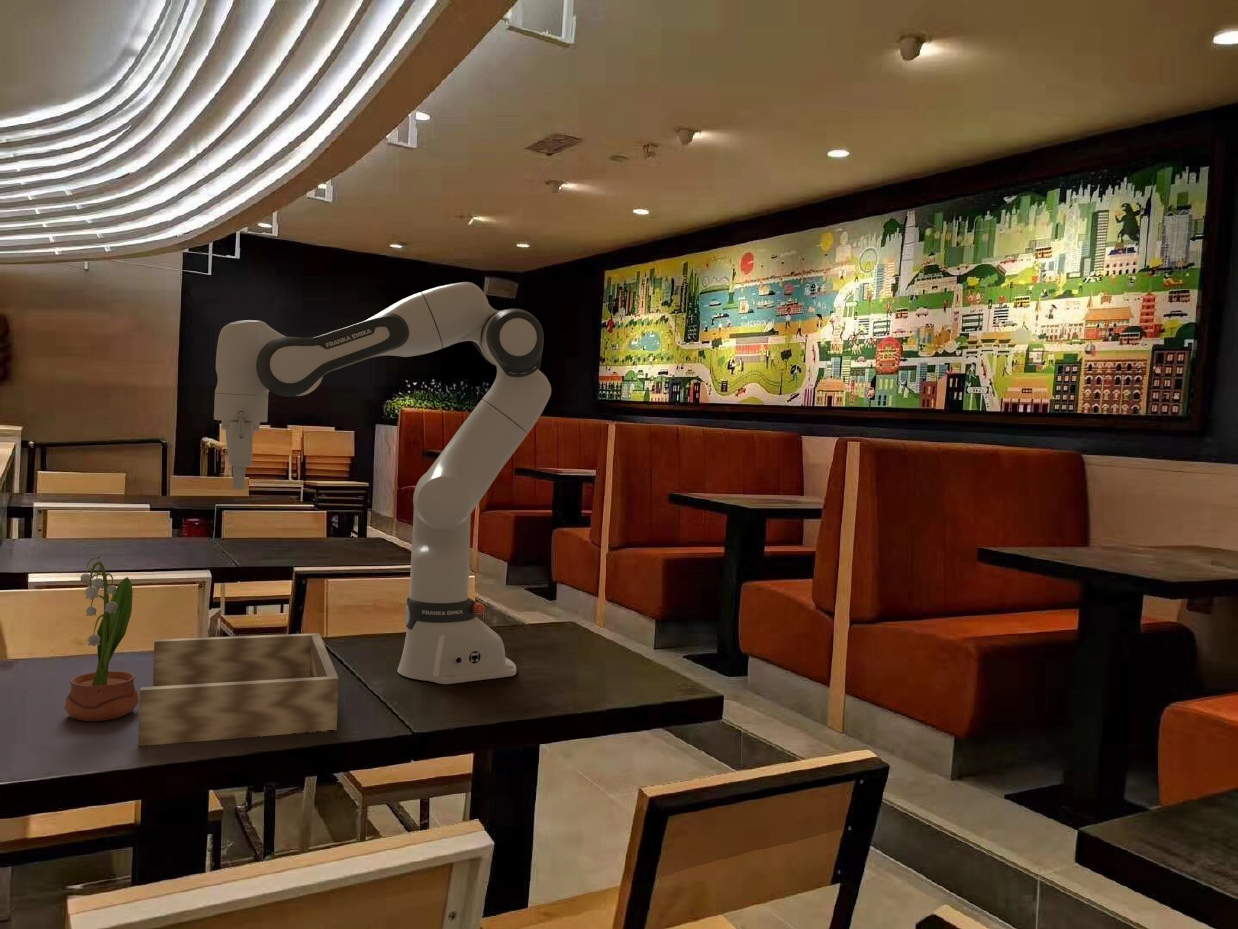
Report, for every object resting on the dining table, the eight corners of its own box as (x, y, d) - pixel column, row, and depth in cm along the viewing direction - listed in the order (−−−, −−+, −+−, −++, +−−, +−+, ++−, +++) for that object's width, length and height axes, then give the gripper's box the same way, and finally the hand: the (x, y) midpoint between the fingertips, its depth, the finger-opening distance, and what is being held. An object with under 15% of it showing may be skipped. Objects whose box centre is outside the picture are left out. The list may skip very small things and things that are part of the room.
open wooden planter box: (317, 676, 169) (319, 633, 168) (336, 730, 140) (338, 678, 140) (153, 685, 158) (154, 639, 158) (138, 746, 130) (139, 690, 129)
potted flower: (114, 730, 135) (120, 561, 135) (43, 728, 135) (49, 559, 134) (149, 706, 147) (154, 551, 146) (84, 704, 146) (89, 548, 146)
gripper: (262, 412, 155) (259, 494, 156) (258, 412, 174) (255, 485, 174) (221, 410, 153) (218, 493, 153) (221, 410, 171) (219, 484, 172)
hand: (238, 488), depth 164 cm, fingers closed
